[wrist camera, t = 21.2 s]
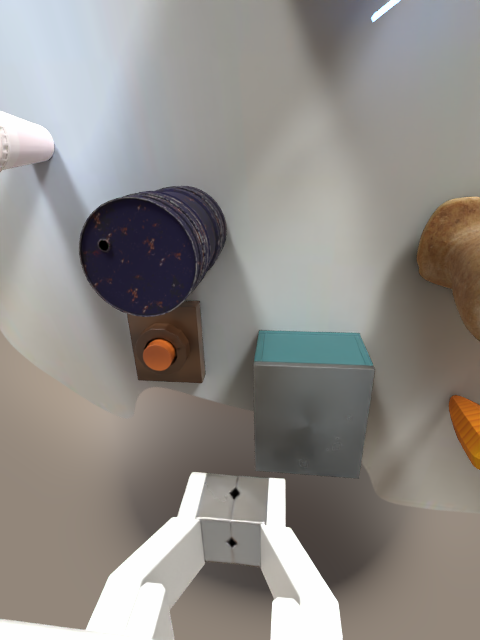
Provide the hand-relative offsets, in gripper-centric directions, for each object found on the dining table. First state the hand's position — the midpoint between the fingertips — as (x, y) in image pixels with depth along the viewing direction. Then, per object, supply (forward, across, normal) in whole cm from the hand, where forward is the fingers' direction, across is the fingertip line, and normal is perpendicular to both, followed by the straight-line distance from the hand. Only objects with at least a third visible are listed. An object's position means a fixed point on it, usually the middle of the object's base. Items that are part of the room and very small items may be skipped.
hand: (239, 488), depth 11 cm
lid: (+25, -5, +18) cm, 31 cm away
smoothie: (+33, +26, -12) cm, 44 cm away
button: (+30, +14, +12) cm, 35 cm away
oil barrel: (+33, +10, -3) cm, 35 cm away
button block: (+33, +14, +12) cm, 38 cm away
